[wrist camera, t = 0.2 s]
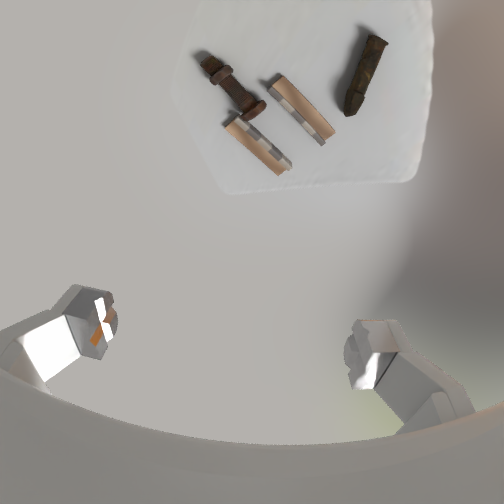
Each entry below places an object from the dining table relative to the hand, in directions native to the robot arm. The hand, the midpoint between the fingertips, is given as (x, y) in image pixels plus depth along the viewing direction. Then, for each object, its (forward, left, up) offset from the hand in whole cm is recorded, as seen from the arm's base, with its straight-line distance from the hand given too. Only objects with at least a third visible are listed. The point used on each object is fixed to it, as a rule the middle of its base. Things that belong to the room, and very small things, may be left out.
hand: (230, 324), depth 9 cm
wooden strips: (+6, +11, -52) cm, 53 cm away
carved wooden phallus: (-15, +13, -52) cm, 56 cm away
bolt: (+6, -2, -52) cm, 52 cm away
